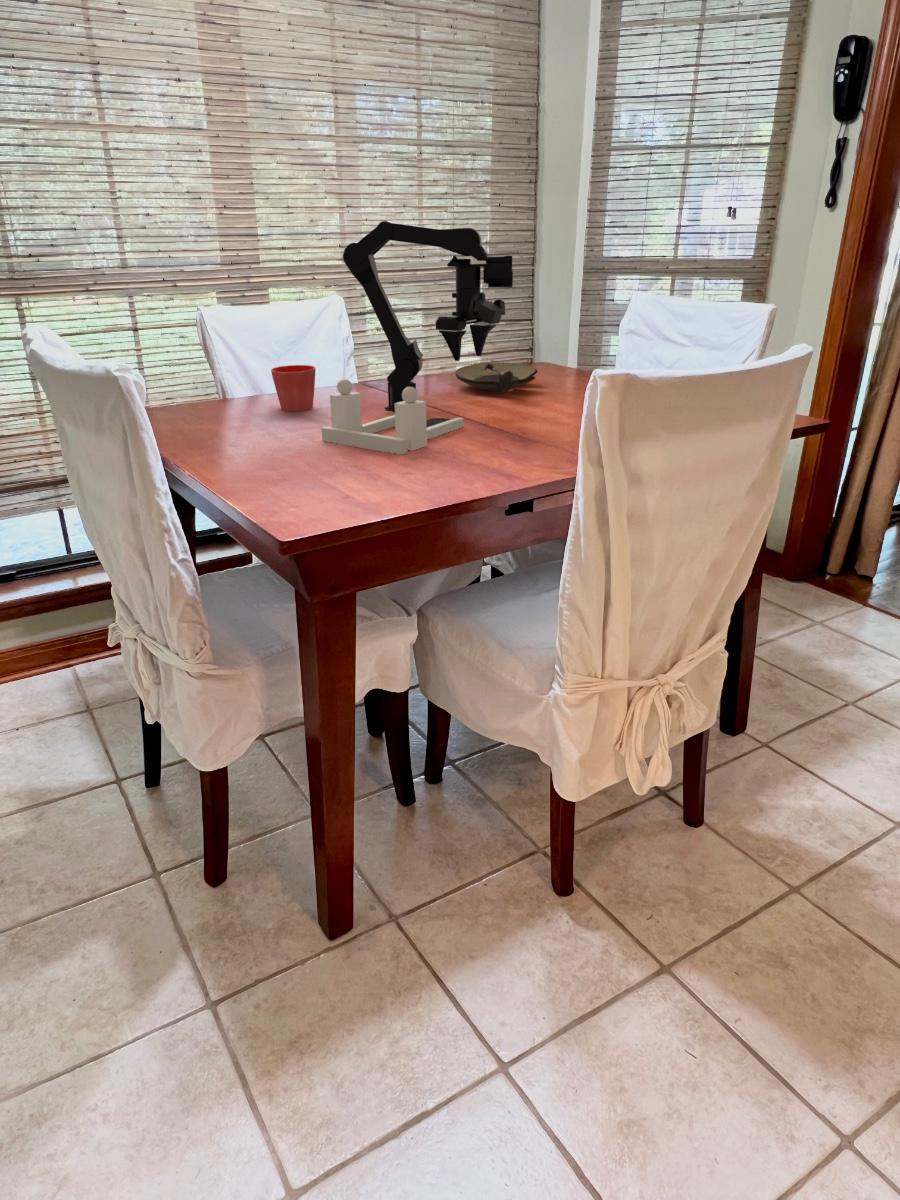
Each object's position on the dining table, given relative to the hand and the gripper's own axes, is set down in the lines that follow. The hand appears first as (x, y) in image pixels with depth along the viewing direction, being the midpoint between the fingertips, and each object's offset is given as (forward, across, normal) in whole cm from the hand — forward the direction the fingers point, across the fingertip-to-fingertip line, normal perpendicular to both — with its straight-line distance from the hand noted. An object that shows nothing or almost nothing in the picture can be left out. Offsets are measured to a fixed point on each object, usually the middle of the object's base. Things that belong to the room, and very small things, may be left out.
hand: (468, 358), depth 192 cm
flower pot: (+12, -21, +37) cm, 44 cm away
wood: (+13, -24, -4) cm, 27 cm away
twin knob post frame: (+12, -30, -2) cm, 32 cm away
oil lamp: (+12, +25, +8) cm, 29 cm away
